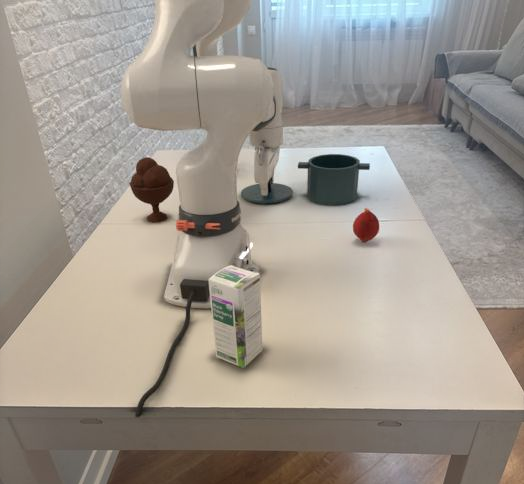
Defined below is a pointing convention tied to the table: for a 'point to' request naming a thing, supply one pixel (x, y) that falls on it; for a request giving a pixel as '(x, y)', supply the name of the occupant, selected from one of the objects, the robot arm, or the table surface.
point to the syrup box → (236, 314)
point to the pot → (333, 178)
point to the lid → (274, 193)
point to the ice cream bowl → (152, 186)
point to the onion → (366, 226)
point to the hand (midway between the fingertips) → (267, 188)
